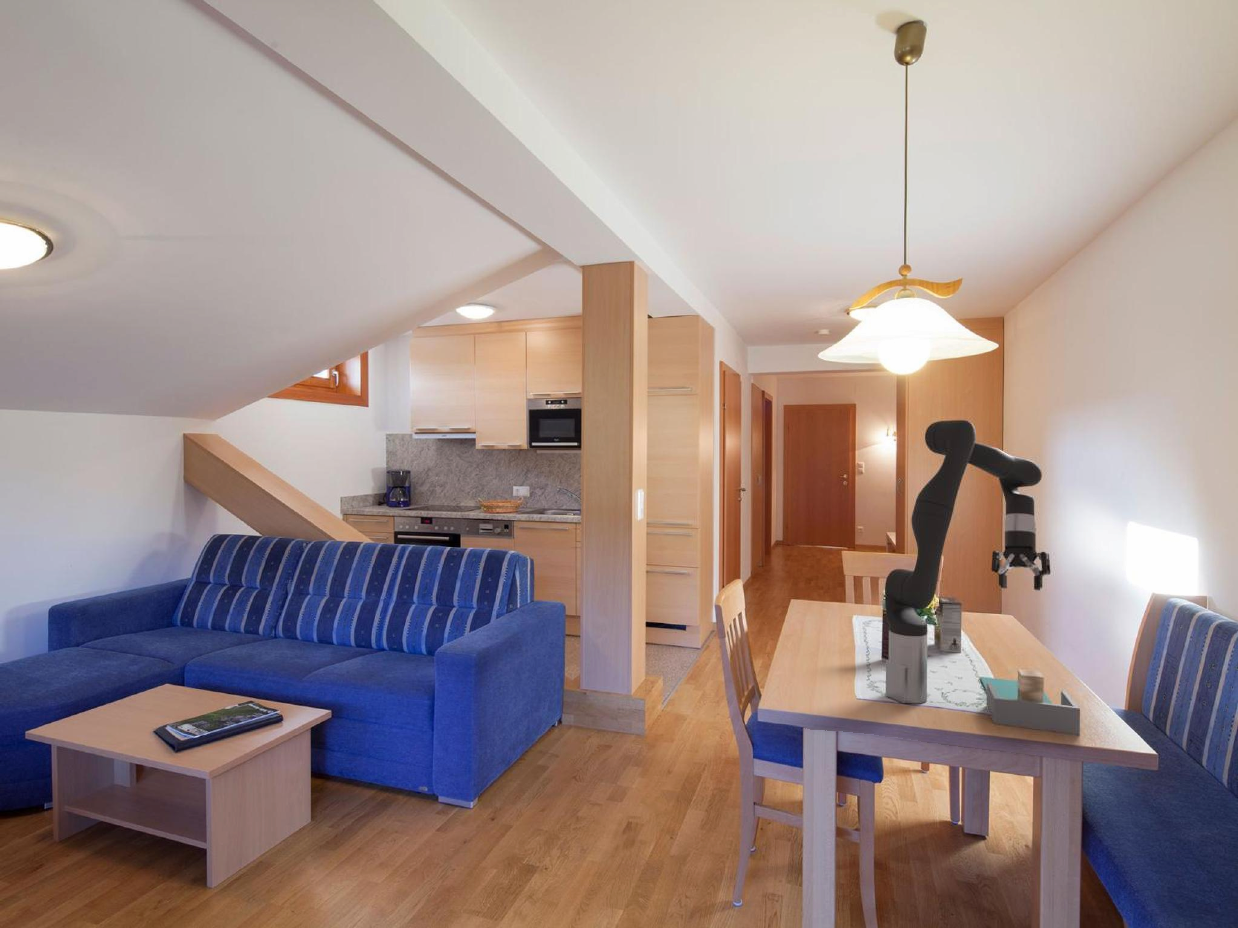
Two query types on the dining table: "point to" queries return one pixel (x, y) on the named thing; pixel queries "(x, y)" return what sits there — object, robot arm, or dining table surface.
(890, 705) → the dining table surface
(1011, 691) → the teal mat
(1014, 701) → the low gray barrier wall
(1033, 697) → the maple block
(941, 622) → the coffee box
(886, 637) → the supplement box
